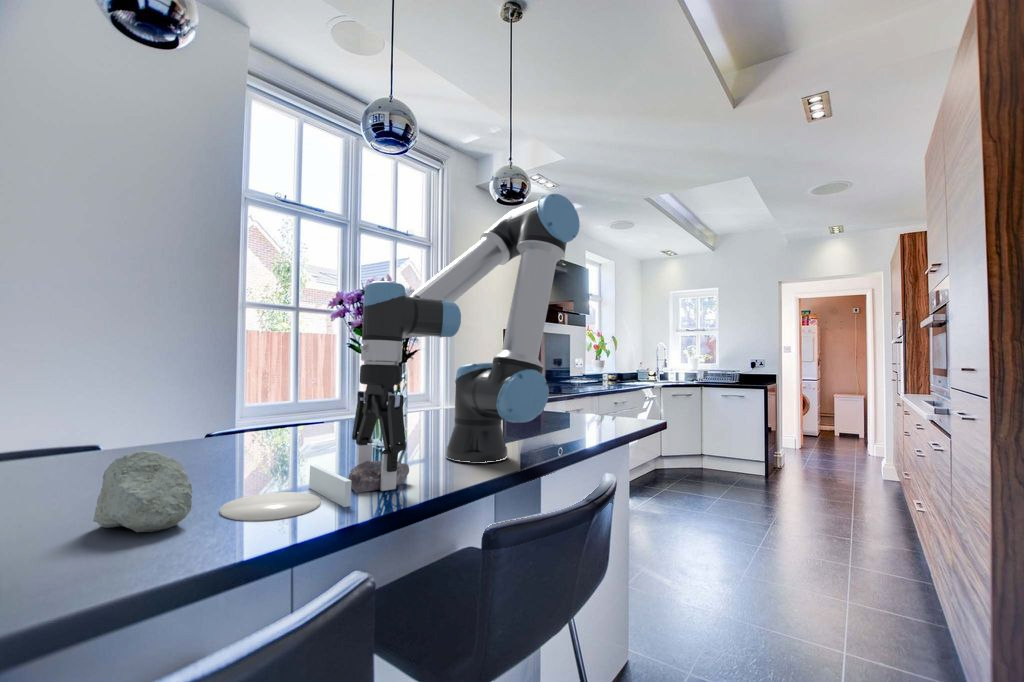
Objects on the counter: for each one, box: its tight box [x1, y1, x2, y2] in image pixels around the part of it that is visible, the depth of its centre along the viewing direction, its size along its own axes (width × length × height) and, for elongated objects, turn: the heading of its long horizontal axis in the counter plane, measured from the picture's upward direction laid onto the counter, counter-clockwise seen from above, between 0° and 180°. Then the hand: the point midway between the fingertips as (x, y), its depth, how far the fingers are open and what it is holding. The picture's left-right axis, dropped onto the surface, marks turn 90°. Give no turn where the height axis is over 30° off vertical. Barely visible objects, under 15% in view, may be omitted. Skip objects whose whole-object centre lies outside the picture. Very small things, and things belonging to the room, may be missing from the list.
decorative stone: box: [93, 449, 193, 533], centre depth 65 cm, size 13×11×10 cm
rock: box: [347, 460, 410, 494], centre depth 90 cm, size 8×11×5 cm
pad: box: [219, 491, 322, 522], centre depth 75 cm, size 14×14×1 cm
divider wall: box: [308, 464, 352, 508], centre depth 81 cm, size 1×15×4 cm, turn 43°
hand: (375, 483), depth 90 cm, fingers open, 9 cm apart
